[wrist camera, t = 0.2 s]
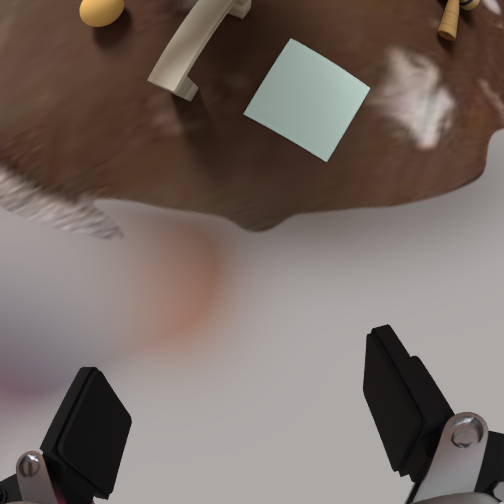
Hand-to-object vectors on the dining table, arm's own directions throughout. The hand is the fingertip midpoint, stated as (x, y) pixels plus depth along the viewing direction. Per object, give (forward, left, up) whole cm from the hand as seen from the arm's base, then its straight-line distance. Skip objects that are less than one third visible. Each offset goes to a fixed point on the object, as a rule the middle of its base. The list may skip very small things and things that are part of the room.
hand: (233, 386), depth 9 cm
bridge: (-15, -13, -31) cm, 37 cm away
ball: (-15, -29, -28) cm, 43 cm away
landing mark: (-15, +1, -31) cm, 35 cm away
